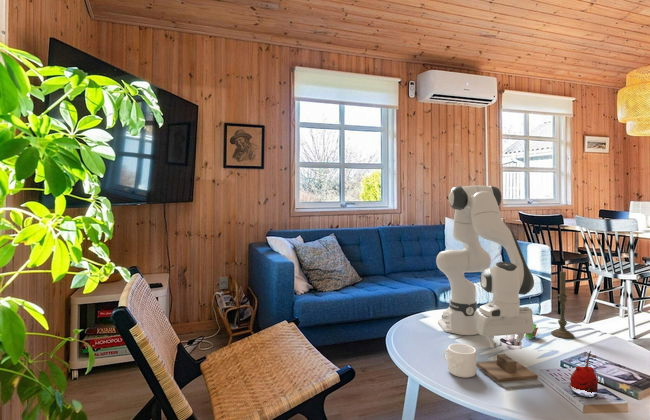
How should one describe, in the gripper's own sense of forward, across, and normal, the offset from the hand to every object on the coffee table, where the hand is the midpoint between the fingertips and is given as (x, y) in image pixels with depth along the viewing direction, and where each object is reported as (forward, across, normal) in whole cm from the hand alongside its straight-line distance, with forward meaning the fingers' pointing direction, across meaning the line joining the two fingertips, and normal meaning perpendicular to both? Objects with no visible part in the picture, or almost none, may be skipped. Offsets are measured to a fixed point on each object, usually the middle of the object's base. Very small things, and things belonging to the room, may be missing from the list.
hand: (505, 346), depth 138 cm
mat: (+10, 0, +1) cm, 10 cm away
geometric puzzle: (+11, -33, -30) cm, 46 cm away
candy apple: (+10, -16, +18) cm, 26 cm away
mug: (+10, +16, -4) cm, 19 cm away
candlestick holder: (+11, -49, -30) cm, 59 cm away
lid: (+9, 0, +1) cm, 9 cm away
